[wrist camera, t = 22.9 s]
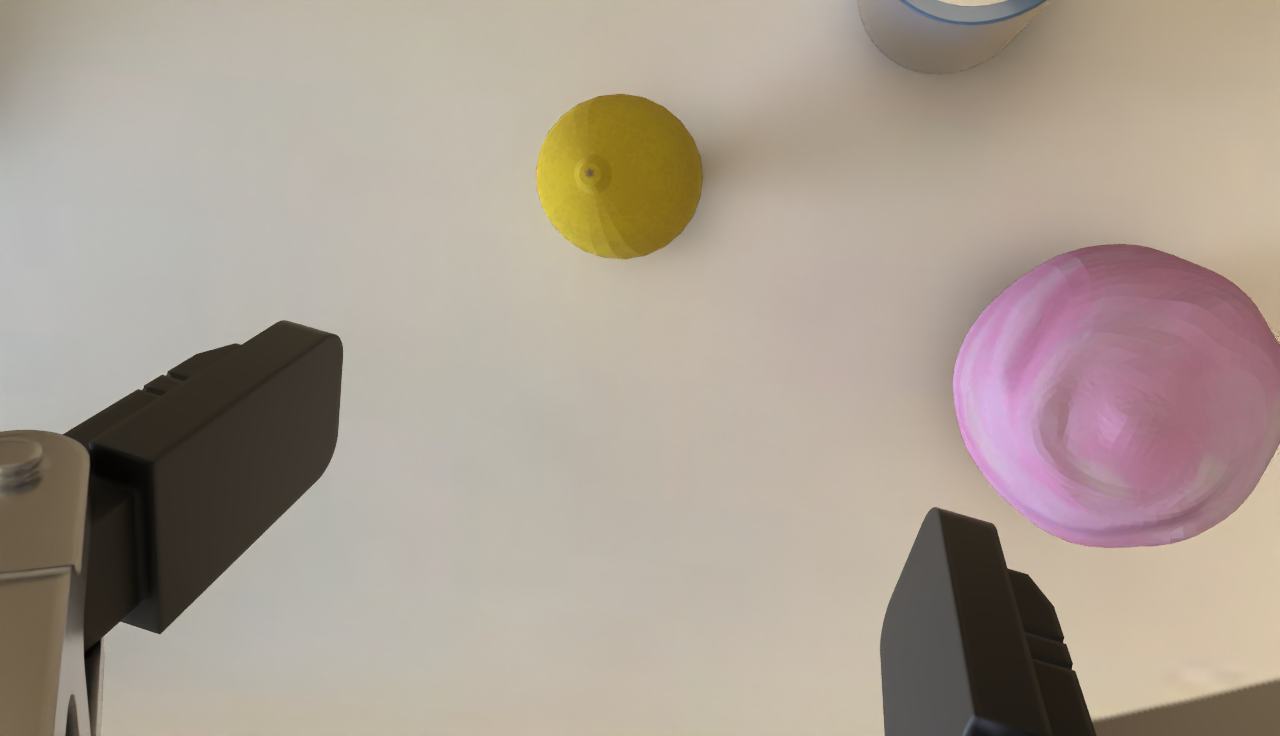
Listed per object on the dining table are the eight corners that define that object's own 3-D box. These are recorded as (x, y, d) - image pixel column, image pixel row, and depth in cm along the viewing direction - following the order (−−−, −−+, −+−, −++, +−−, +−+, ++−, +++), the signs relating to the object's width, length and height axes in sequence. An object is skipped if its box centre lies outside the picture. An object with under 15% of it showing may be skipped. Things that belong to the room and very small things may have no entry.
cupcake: (890, 325, 34) (909, 372, 24) (1108, 189, 31) (1225, 181, 22) (1021, 521, 34) (1090, 644, 24) (1248, 401, 32) (1424, 484, 22)
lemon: (738, 137, 34) (707, 117, 26) (685, 274, 35) (640, 293, 28) (605, 86, 35) (537, 51, 27) (558, 222, 36) (480, 226, 28)
